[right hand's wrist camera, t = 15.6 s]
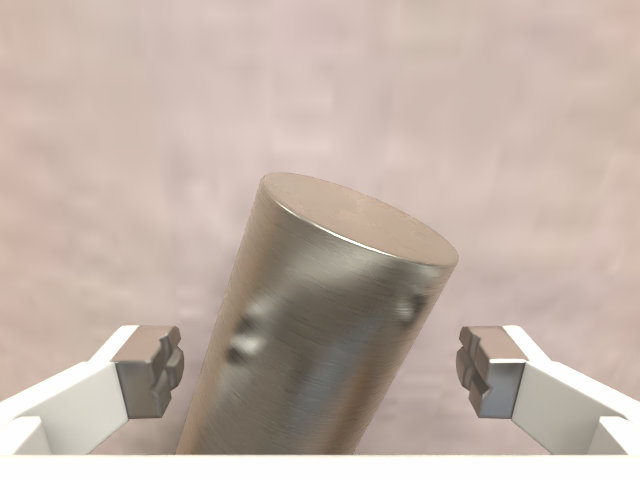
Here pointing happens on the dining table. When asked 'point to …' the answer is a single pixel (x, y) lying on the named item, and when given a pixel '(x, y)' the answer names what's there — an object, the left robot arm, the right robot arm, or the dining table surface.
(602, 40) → the dining table surface
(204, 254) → the dining table surface
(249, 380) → the rod
